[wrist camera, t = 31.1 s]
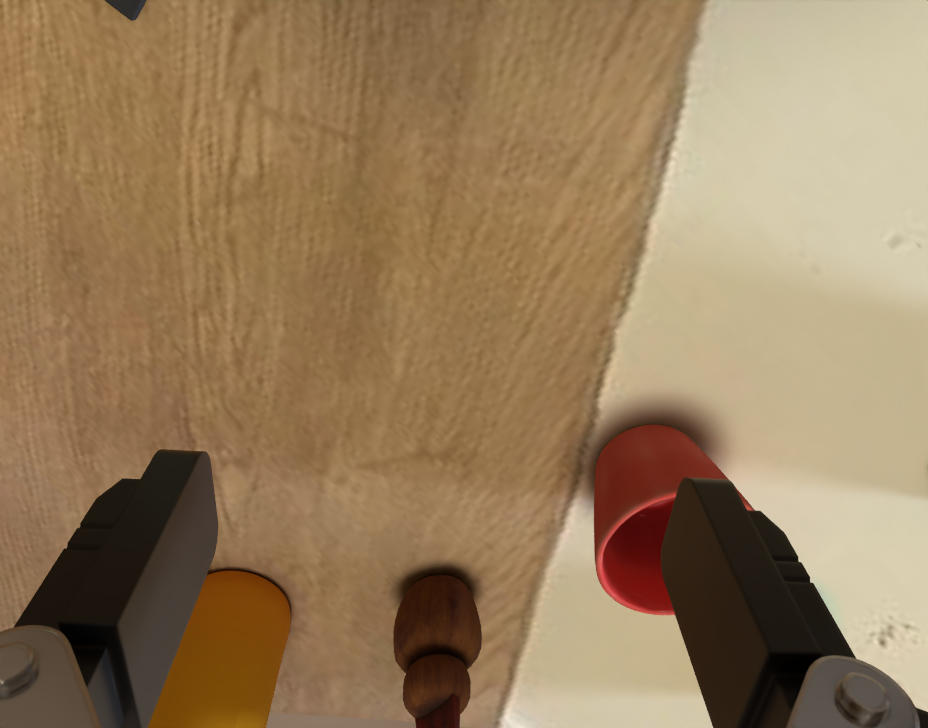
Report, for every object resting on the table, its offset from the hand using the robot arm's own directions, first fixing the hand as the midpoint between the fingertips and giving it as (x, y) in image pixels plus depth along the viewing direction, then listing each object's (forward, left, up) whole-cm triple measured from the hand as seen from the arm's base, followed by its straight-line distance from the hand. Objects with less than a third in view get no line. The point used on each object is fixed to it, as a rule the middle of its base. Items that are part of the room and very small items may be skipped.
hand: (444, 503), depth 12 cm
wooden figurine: (+30, +23, -34) cm, 51 cm away
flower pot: (+10, +27, -34) cm, 45 cm away
